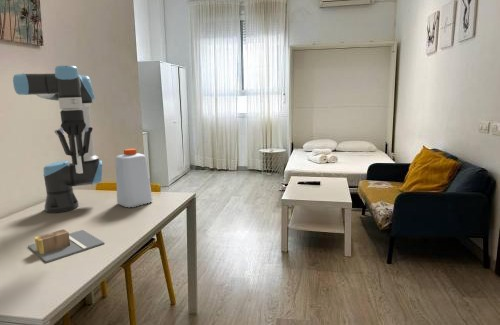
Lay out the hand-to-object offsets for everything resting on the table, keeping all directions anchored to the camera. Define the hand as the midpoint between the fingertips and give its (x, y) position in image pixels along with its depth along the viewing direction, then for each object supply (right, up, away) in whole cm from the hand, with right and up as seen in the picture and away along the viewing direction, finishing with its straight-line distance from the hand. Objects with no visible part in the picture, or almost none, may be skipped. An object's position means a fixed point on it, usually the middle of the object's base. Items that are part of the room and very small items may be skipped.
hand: (79, 172), depth 136 cm
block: (-4, -24, -1) cm, 24 cm away
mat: (-5, -27, -1) cm, 28 cm away
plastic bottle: (+5, -17, +50) cm, 53 cm away
